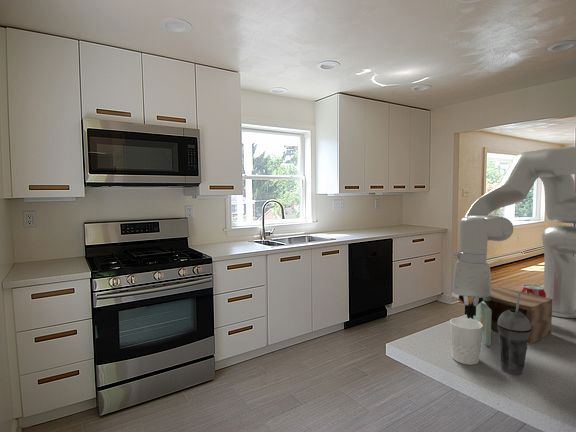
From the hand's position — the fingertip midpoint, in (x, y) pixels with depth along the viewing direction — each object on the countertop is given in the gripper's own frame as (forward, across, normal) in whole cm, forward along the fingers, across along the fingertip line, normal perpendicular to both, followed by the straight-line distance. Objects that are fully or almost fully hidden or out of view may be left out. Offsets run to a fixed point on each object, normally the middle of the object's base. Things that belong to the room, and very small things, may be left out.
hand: (470, 317), depth 108 cm
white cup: (+7, -2, -15) cm, 17 cm away
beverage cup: (+7, +9, -18) cm, 21 cm away
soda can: (+6, +20, +22) cm, 30 cm away
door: (+6, +3, +2) cm, 7 cm away
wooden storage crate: (+6, +13, +12) cm, 18 cm away
